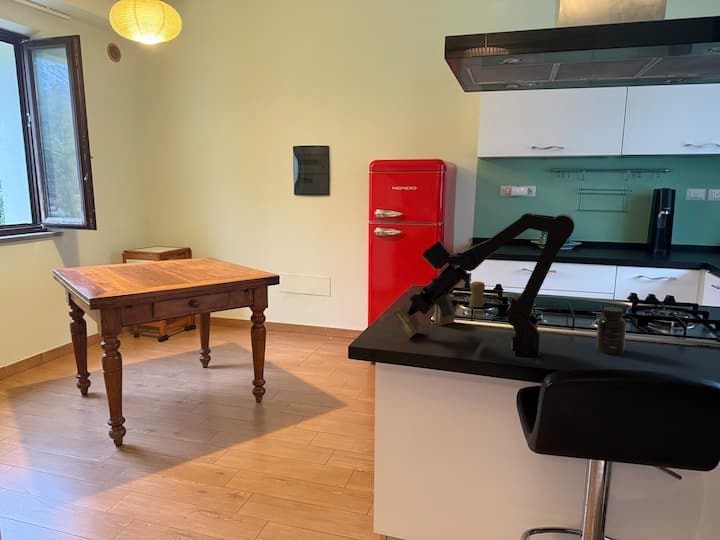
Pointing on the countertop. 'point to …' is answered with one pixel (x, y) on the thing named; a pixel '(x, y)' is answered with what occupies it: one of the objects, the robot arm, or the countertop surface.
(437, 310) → the block two
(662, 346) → the countertop surface
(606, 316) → the supplement bottle
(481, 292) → the cork
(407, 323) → the block one
